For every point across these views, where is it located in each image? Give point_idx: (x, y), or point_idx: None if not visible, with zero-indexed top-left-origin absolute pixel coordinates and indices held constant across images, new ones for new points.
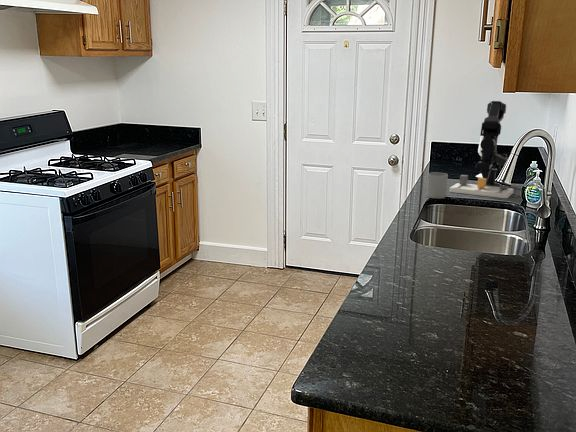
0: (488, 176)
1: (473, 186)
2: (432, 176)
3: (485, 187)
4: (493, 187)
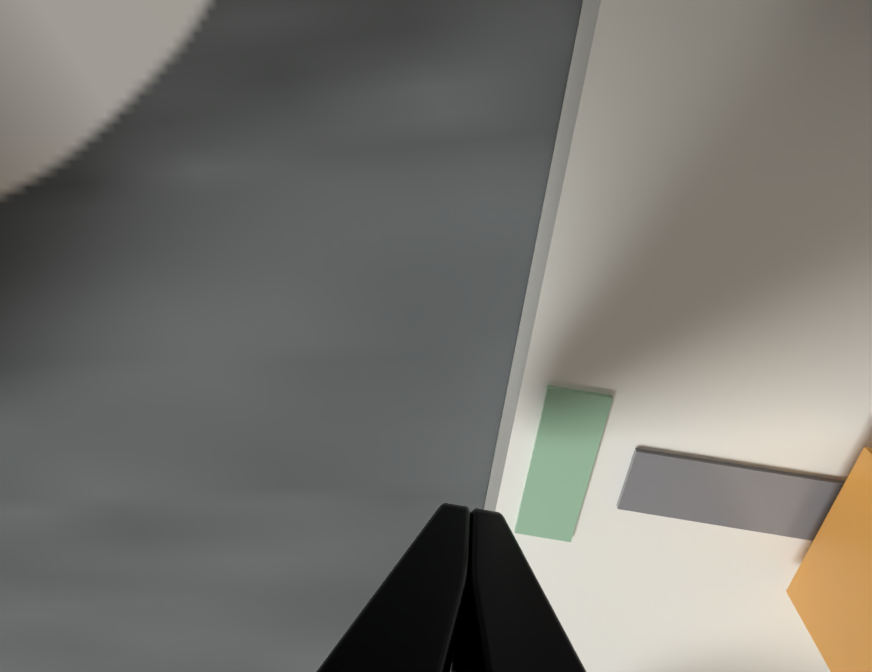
0: (445, 650)
1: (713, 663)
2: None
3: (777, 439)
4: (711, 229)
